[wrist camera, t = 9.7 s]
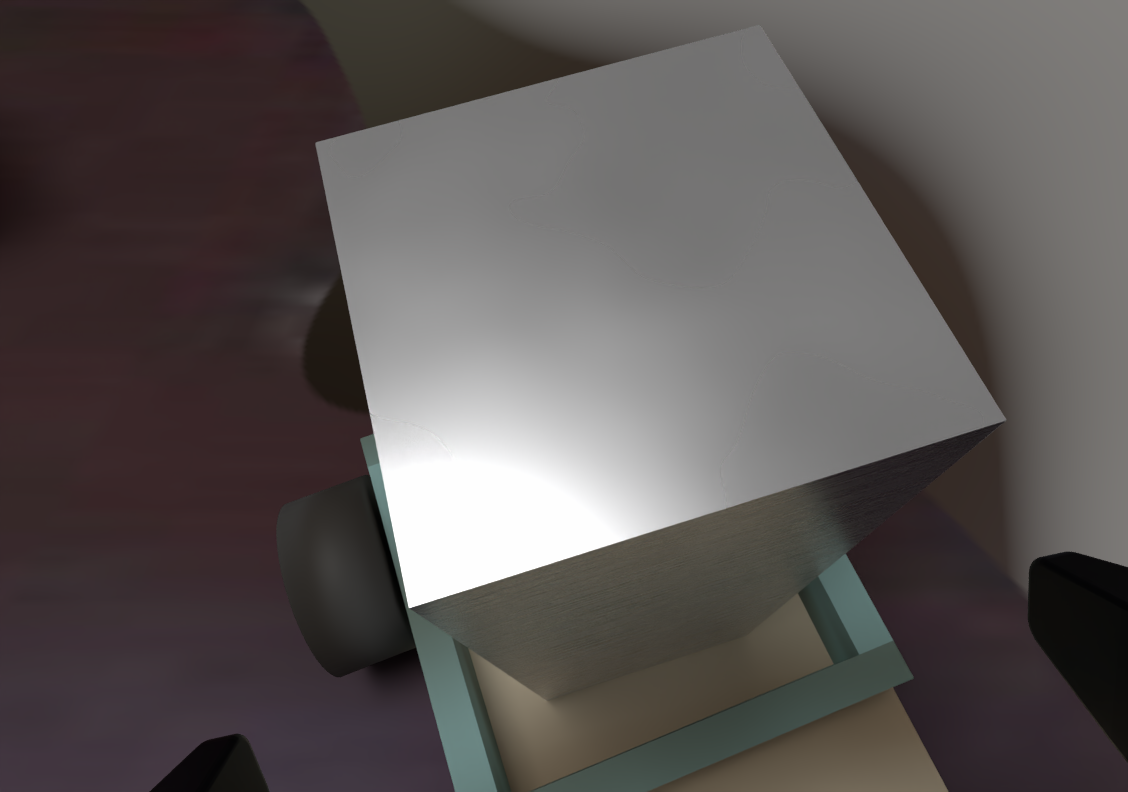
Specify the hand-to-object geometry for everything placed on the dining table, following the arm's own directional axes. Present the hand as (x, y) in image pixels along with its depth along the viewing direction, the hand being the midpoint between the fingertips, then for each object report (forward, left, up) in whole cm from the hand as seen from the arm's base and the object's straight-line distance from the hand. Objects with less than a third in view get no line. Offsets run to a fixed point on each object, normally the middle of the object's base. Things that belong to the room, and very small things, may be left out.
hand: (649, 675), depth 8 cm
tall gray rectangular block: (+3, -1, -10) cm, 10 cm away
